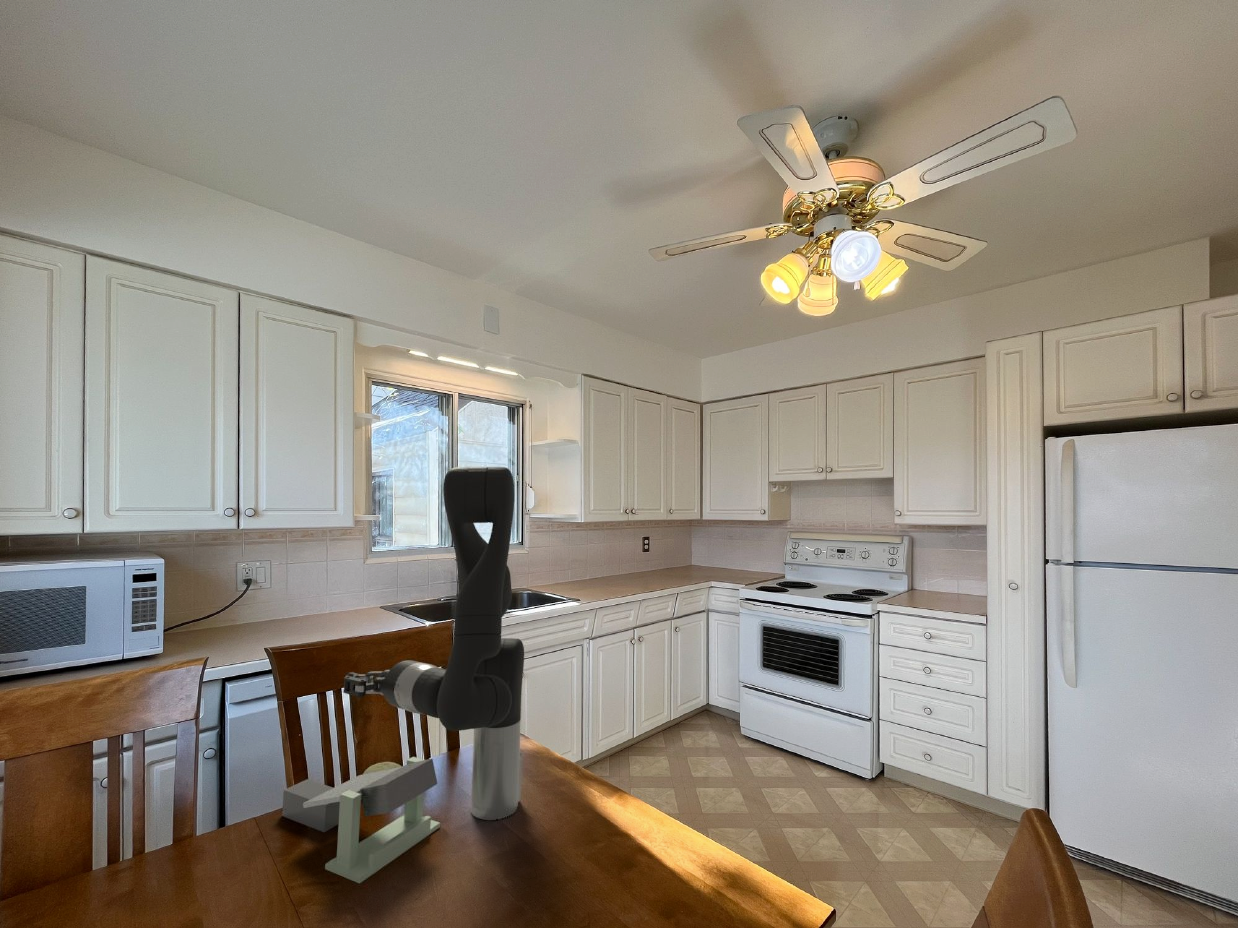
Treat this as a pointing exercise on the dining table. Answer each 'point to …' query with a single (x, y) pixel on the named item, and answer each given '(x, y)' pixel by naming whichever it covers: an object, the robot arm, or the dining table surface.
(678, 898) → the dining table surface
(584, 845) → the dining table surface
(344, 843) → the frame
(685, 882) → the dining table surface
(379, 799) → the trapdoor
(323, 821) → the basalt block
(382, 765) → the sea urchin shell
